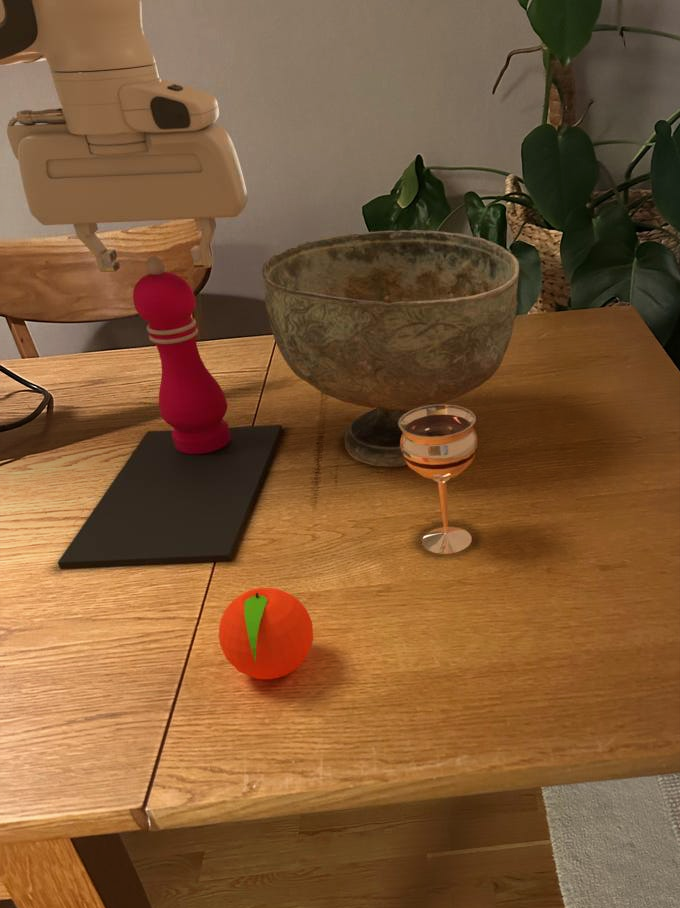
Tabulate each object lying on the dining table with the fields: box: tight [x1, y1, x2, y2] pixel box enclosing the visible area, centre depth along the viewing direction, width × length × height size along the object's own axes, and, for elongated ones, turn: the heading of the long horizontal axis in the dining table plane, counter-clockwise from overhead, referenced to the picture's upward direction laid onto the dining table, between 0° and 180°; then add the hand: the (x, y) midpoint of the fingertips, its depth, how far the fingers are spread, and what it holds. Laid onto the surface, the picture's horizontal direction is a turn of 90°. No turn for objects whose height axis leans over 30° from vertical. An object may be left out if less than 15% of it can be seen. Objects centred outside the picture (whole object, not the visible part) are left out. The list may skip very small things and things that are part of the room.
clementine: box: [218, 587, 314, 680], centre depth 63 cm, size 8×7×7 cm
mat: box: [57, 424, 284, 570], centre depth 88 cm, size 16×28×1 cm, turn 1°
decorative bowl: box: [261, 229, 520, 468], centre depth 90 cm, size 26×26×20 cm
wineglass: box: [398, 403, 478, 555], centre depth 75 cm, size 7×7×12 cm
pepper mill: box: [132, 256, 231, 455], centre depth 89 cm, size 7×7×20 cm
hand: (157, 268), depth 84 cm, fingers open, 8 cm apart
